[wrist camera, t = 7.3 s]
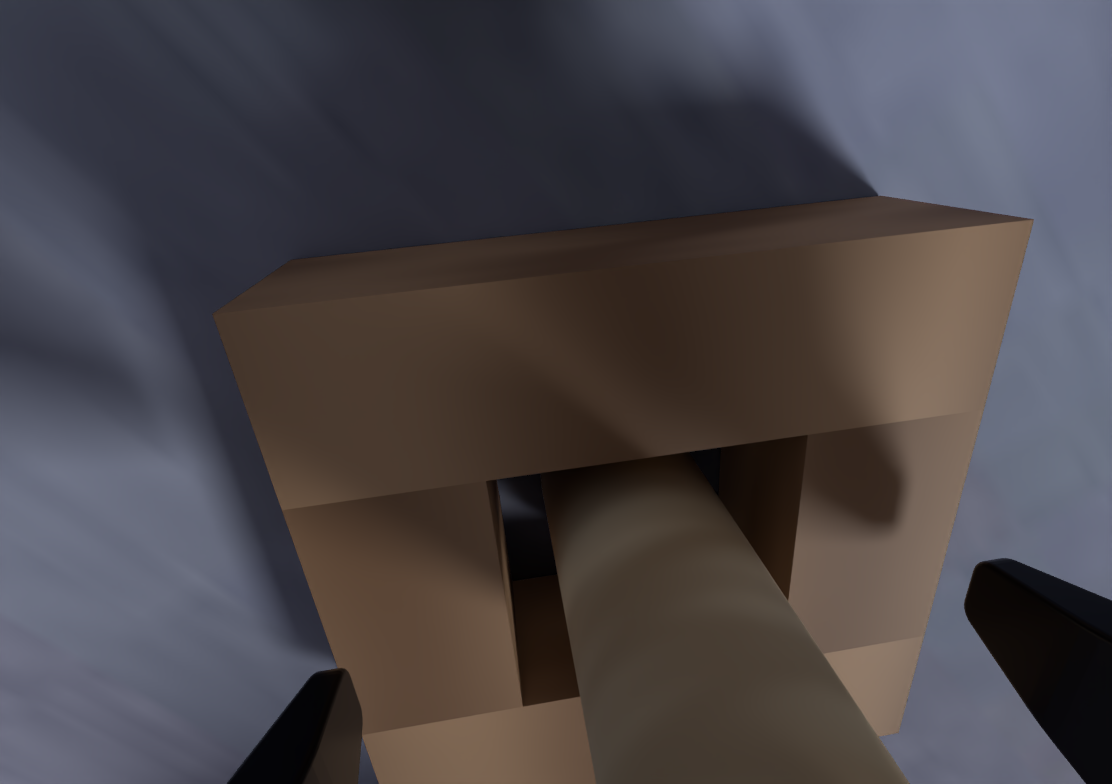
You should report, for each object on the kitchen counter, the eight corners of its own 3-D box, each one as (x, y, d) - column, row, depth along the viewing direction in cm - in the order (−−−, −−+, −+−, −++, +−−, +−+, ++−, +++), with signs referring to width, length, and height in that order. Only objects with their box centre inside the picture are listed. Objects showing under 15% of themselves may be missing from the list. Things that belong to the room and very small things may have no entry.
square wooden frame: (881, 195, 10) (1033, 219, 7) (817, 617, 14) (898, 732, 11) (291, 259, 9) (212, 313, 6) (411, 687, 13) (394, 828, 11)
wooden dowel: (686, 398, 11) (1269, 1134, 3) (684, 522, 12) (1087, 1274, 4) (533, 418, 11) (705, 1280, 3) (547, 543, 12) (695, 1386, 4)
